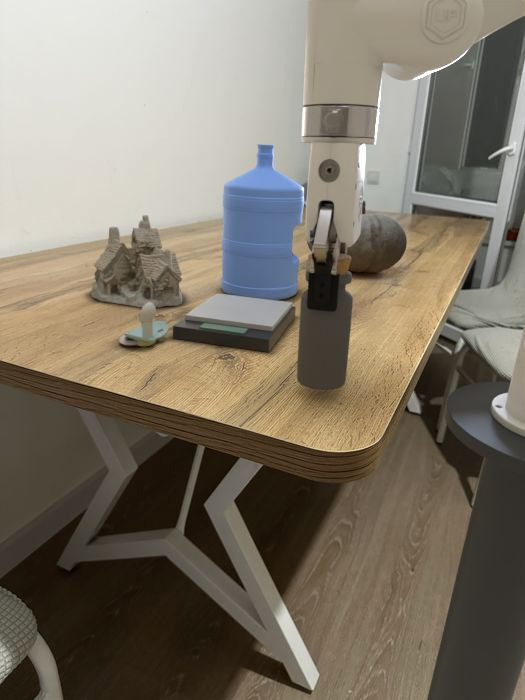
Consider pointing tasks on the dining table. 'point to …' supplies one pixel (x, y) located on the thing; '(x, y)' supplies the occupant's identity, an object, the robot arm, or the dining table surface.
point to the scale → (236, 322)
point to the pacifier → (146, 328)
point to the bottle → (325, 337)
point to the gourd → (376, 243)
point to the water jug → (261, 232)
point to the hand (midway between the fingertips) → (326, 300)
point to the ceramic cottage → (137, 270)
